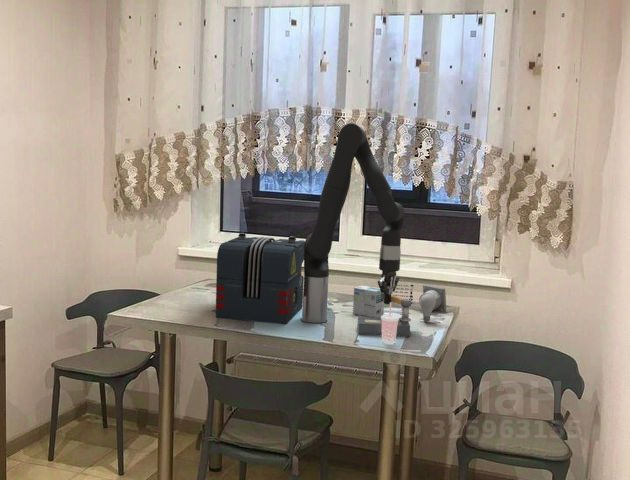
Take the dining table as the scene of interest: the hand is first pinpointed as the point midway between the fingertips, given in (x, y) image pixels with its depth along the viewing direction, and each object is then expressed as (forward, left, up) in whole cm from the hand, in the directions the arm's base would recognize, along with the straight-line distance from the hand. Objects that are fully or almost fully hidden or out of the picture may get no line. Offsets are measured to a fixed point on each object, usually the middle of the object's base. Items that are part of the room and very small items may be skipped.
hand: (387, 303), depth 248 cm
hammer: (+3, +1, 0) cm, 3 cm away
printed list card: (+15, +33, -9) cm, 37 cm away
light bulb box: (-6, +19, -9) cm, 22 cm away
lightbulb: (+16, +11, -9) cm, 22 cm away
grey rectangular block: (-2, -6, -9) cm, 11 cm away
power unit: (-48, +14, -9) cm, 51 cm away
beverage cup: (-1, -19, -9) cm, 22 cm away
